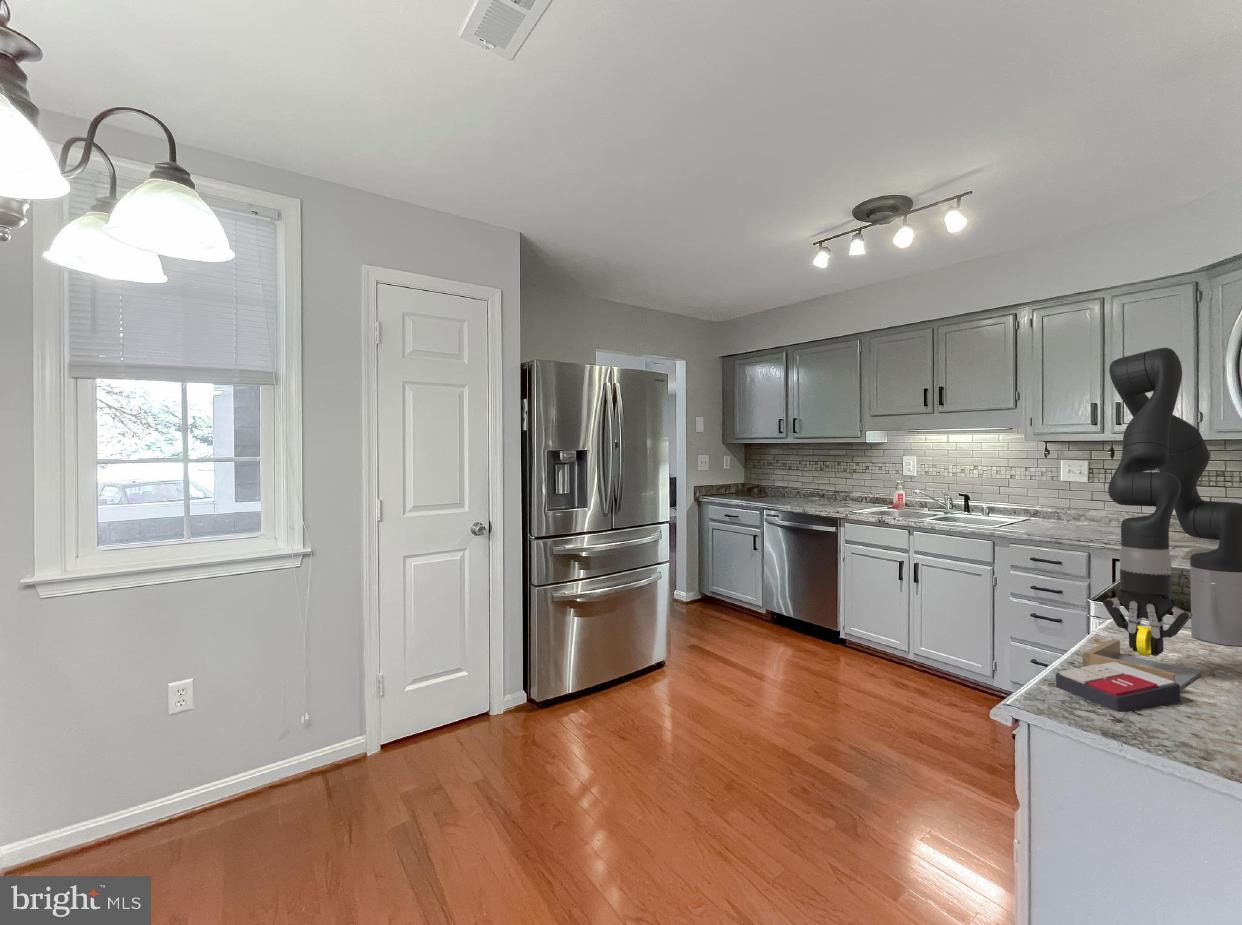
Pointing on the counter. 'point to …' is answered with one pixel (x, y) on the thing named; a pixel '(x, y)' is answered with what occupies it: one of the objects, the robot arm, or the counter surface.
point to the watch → (1144, 639)
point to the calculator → (1118, 686)
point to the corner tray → (1137, 663)
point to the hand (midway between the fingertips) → (1146, 652)
